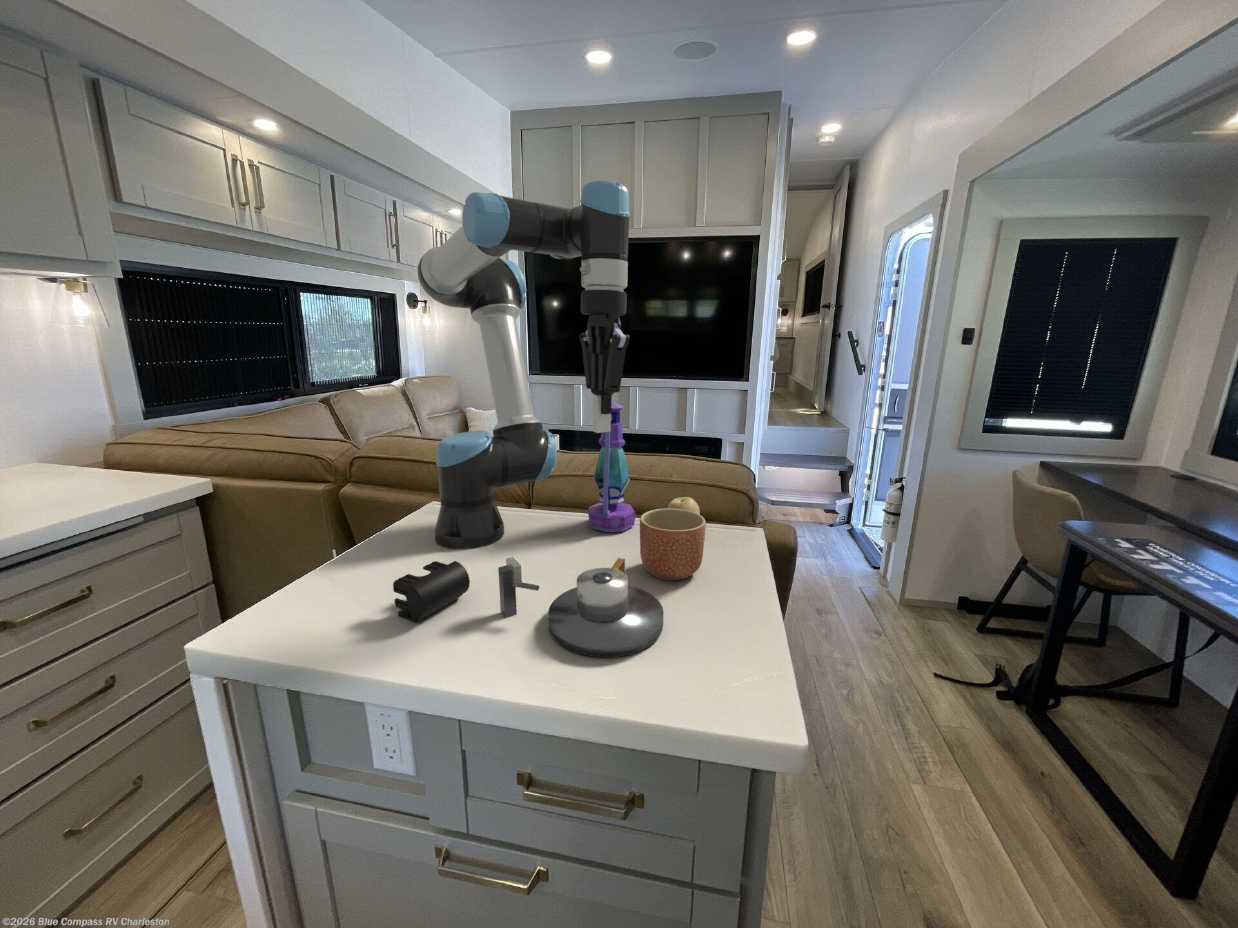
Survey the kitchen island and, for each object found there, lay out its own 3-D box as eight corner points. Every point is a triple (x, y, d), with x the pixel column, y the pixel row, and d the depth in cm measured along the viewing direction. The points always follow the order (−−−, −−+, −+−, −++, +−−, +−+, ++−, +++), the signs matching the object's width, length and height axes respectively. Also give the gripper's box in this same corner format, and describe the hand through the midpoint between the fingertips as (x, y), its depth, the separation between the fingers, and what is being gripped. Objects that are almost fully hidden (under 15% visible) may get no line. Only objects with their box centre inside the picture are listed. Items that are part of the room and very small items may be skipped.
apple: (707, 528, 117) (698, 505, 113) (676, 540, 118) (666, 518, 113) (699, 508, 123) (689, 485, 119) (669, 520, 124) (659, 498, 120)
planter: (686, 593, 87) (689, 536, 84) (626, 576, 93) (627, 522, 91) (712, 567, 97) (715, 515, 94) (657, 553, 103) (658, 504, 101)
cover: (579, 624, 73) (578, 590, 71) (576, 598, 80) (574, 567, 79) (632, 618, 74) (632, 586, 73) (624, 593, 82) (623, 563, 80)
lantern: (594, 514, 126) (594, 397, 119) (639, 517, 124) (641, 399, 117) (580, 533, 114) (579, 404, 106) (630, 537, 111) (632, 406, 104)
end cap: (425, 629, 76) (421, 589, 74) (394, 617, 79) (389, 579, 77) (471, 600, 84) (469, 564, 83) (442, 590, 87) (439, 555, 86)
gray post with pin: (499, 609, 81) (496, 560, 79) (526, 602, 84) (524, 554, 81) (512, 628, 76) (510, 576, 74) (541, 619, 78) (539, 569, 76)
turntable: (528, 643, 71) (526, 600, 70) (573, 586, 88) (573, 550, 86) (648, 667, 66) (649, 621, 65) (672, 602, 83) (674, 564, 82)
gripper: (565, 290, 83) (566, 426, 90) (604, 286, 73) (601, 441, 79) (603, 293, 87) (601, 423, 93) (645, 289, 77) (640, 436, 83)
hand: (601, 431), depth 86 cm, fingers closed
